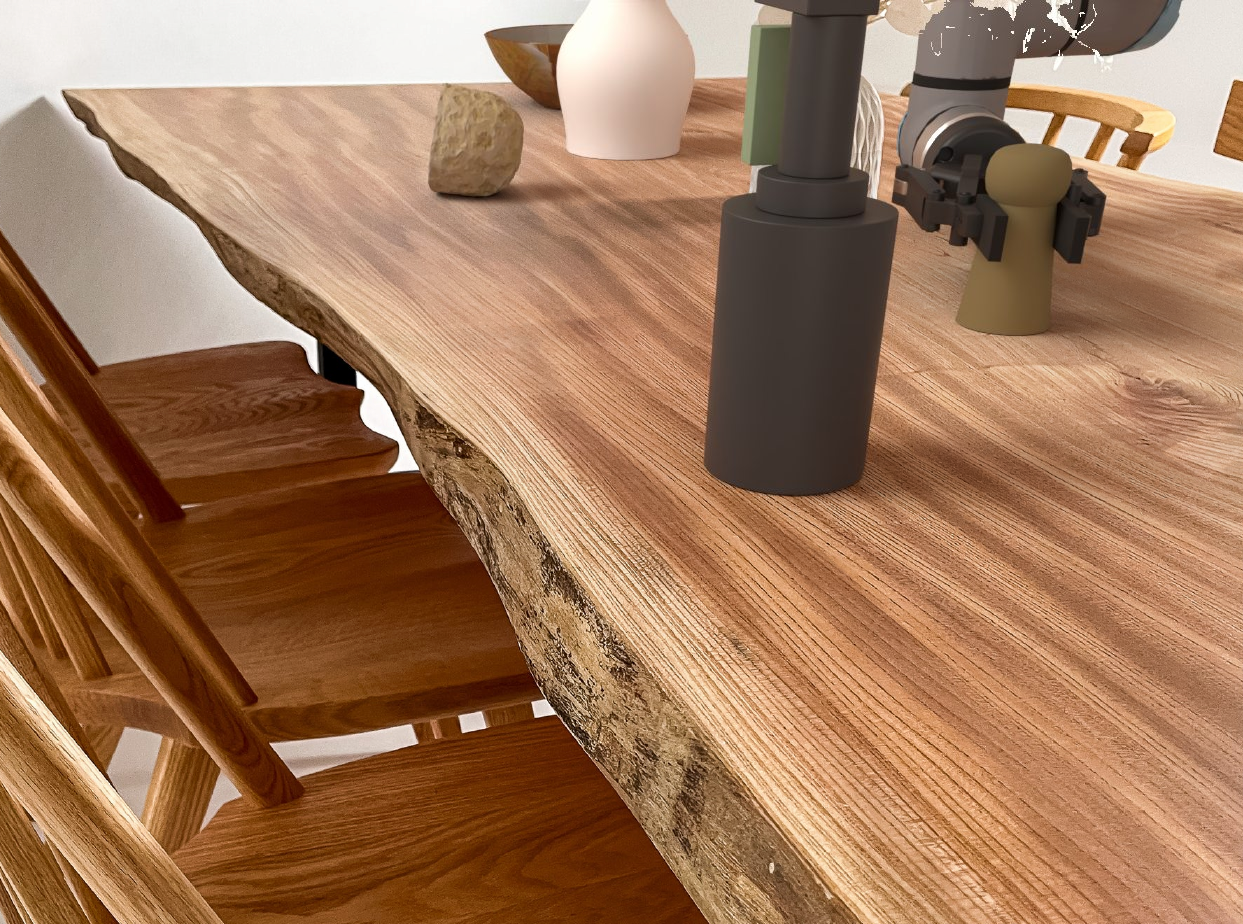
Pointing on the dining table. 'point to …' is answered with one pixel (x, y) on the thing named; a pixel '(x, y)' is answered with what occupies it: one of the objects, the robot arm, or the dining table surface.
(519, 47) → the bowl
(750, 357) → the spray bottle
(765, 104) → the sage green tall block
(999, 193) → the cork
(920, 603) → the dining table surface
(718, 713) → the dining table surface
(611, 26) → the vase
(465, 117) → the tan rough stone lump
